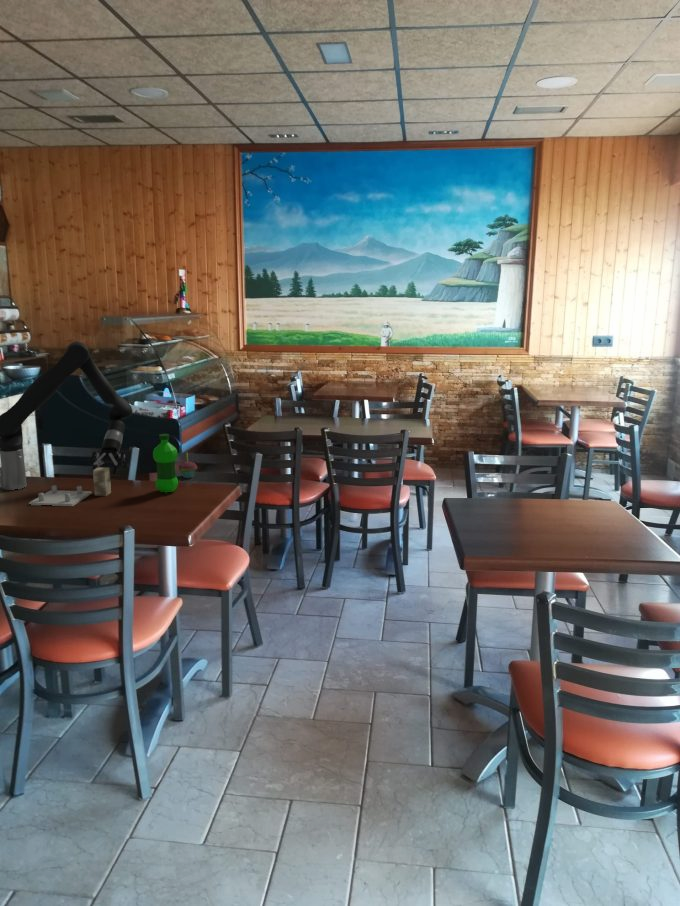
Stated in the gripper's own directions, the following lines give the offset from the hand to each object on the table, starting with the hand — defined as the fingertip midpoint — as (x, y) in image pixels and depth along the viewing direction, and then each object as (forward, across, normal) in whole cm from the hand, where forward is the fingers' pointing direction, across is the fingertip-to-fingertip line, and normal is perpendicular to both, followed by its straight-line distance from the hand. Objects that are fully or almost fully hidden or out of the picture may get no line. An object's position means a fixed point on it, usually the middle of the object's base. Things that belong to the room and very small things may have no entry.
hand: (104, 474), depth 291 cm
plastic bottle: (+3, +26, +8) cm, 27 cm away
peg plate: (+14, -14, -2) cm, 20 cm away
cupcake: (-14, +28, +26) cm, 41 cm away
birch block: (+7, 0, +4) cm, 8 cm away
